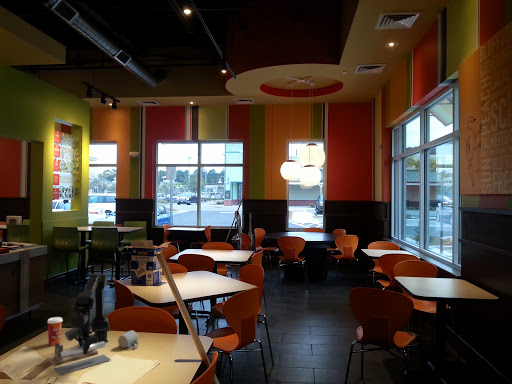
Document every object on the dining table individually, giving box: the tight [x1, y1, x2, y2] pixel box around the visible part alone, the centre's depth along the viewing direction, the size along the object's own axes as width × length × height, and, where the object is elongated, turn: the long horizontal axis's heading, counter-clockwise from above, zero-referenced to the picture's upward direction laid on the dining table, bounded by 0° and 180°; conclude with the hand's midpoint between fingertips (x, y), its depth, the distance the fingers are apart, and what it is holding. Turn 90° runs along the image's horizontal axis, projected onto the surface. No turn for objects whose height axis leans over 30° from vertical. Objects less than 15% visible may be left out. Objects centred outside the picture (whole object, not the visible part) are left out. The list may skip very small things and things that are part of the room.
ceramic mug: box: [117, 330, 139, 350], centre depth 207 cm, size 11×8×8 cm
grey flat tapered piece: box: [53, 354, 112, 376], centre depth 183 cm, size 24×9×1 cm, turn 135°
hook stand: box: [48, 342, 99, 367], centre depth 191 cm, size 21×8×8 cm, turn 135°
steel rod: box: [61, 341, 106, 358], centre depth 183 cm, size 20×3×3 cm, turn 135°
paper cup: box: [47, 316, 64, 347], centre depth 210 cm, size 8×8×14 cm
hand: (83, 353), depth 183 cm, fingers closed on steel rod, 3 cm apart
